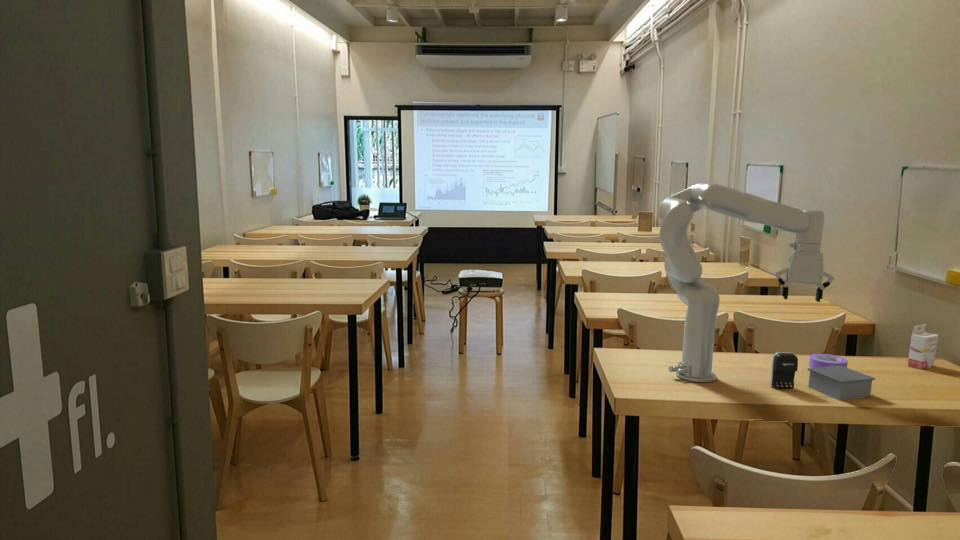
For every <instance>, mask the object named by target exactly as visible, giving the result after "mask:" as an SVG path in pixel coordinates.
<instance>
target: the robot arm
mask: <svg viewBox="0 0 960 540" xmlns="http://www.w3.org/2000/svg"><path fill="white" fill-rule="evenodd" d="M657 208H658V209H657V215H658V217H659V219H661V221H662V222H661V225H660V229H659V242H660V245H661V248H662V251H663V252H664V254H665V259H664V271H665V273H666V276H667V277H668V279H669V281H670V284H671V285H672V287H673V290H674V291H675V293H676V295H677V297H678V298H679V299H680V301H681V302H682V303H683V304H684V305H686V306H687V311H686V314H685V318H684V325H683V327H684V328H683V341H682V343H683V344H682V355H681V361H679V362H678V364H677V365H670V366H668V372H670V373H675V374H676V376H677V377H679V378H680V379H682V380H685V381H688V382H695V383H712V382H715V380H717V374H716V373H715V372H713V358H714V347H715V331H716V320H717V315H718V311H719V307H720V300H721V299H720V295H719V292H718V291H717V289H716V288H715V287H714V285H712V284H710V283H708V282H706V281H703V280H702V278H701V277H702V274H703V267H702V263H701V261H700V259H699V258H698V256H697V253H696V252H695V250H694V247H693V246H692V244H691V242H690V239H689V235H688V228H689V225H690V223H691V222H692V220H693V218H694V213H696V212H699V211H701V210H702V209H704V210H708V211H711V212H714V213H718V214H721V215H724V216H728V217H731V218H734V219H738V220H741V221H745V222H749V223H755V224H761V225H764V226H767V227H768V226H769V227H773V228H774V229H775V230H777V231H780V232H785V233H791V234H795V239H794V242H792V243H789V248H792V249H793V250H792V251H790V252H791V253H790V256H789V260H788V263H787V267H786V268H784V269H780V270H777V271H776V272H775V273H774V275H775V277H776V280H777V281H778V283H780V285H781V286H782V290H781V296H782V297H783V299H784V300H788V297H789V285H790V284H792V283H796V284H805V285H807V284H808V285H816V286H817V288H816V291H815V299H814V300H815V301H816V302H817V303H821V300H823V295H824V290H825V289H826V288H827V287H829V286H830V285H831V283H833V281H834V280H835V277H834V276H833V275H831V274H829V273H828V272H826V271H824V253H822V252H821V249H822V241H823V240H822V239H823V232H824V224H825V223H824V222H825V212H824V211H823V210H820V209H811V208H808V209H807V208H804V209H799V208H796V207H793V206H790V205H786V204H783V203H780V202H776V201H774V200H770V199H766V198H763V197H760V196H758V195H755V194H752V193H748V192H744V191H741V190H738V189H735V188H732V187H729V186H725V185H722V184H718V183H715V182H708V181H706V182H703V181H701V182H698V183H695V184H693V185H691V186H689V187H687V188H685V189H683V190H681V191H679V192H677V193H675V194H672V195H670V196H668V197H666V198H664V199H663V200H661V202H660V204H659V205H658V207H657ZM785 274H786V276H785V277H786V279H785V280H783V278H782V275H785ZM824 277H825V278H826V281H824V282H823V278H824ZM822 282H823V283H822Z"/></svg>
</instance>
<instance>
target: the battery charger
mask: <svg viewBox="0 0 960 540" xmlns="http://www.w3.org/2000/svg"><path fill="white" fill-rule="evenodd" d="M798 358H799V357H798V356H797V355H795V354H794V353H793V352H787V351H786V352H785V351H783V352H776V353H774V354H773V356H772V363H771V379H770V387H771V388H774V389H776V390H794V389H795V375H796V372H798V368H799V367H798V366H799V365H798V364H799V359H798Z"/></svg>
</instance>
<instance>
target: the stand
mask: <svg viewBox="0 0 960 540" xmlns="http://www.w3.org/2000/svg"><path fill="white" fill-rule="evenodd" d="M807 371H809V377H808V388H810V389H813V390H814V391H817V392H819V393H820V394H824V395H826V396H829V397H831V398H833V399H836V400H837V401H844V400H852V399H851V398H854V399H861V398H860V397H863V398H869V397H868V396H870V397H871V394H872V386H873V385H872V384H873V381H876V377H873V376H870V375H869V374H865V373H862V372H861V371H860V372H859V371H857V370H854V369H852V368H848V367H847V368H846V367H843V366H840V365H838V366H828V367H818V368H810V367H809V368H807Z"/></svg>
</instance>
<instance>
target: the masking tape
mask: <svg viewBox="0 0 960 540" xmlns="http://www.w3.org/2000/svg"><path fill="white" fill-rule="evenodd" d="M838 365H840V366H843V367H846V368H848V360H847V358H844V357H842V356H838V355H833V354H826V353H814V354H810V355H809V361H808V367H809V368H818V367H828V366H838Z"/></svg>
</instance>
